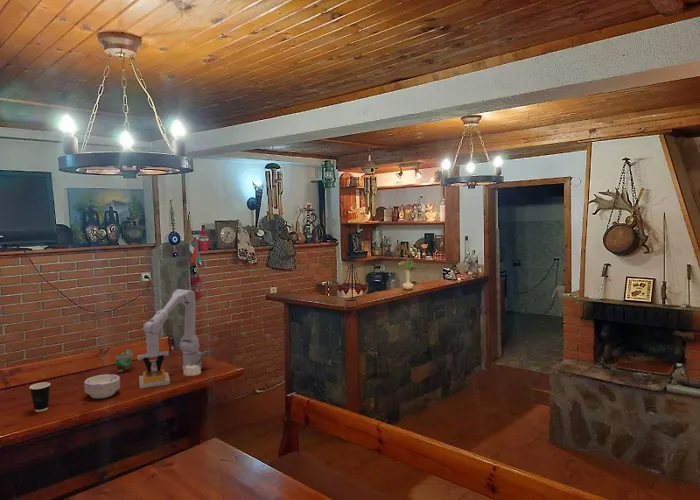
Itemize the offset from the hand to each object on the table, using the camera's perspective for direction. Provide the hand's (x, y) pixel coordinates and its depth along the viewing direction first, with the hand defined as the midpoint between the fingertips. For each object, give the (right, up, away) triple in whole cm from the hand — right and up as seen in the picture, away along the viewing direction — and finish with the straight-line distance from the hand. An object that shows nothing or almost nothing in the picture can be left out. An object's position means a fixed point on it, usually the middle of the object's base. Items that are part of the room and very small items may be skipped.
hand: (153, 371), depth 256 cm
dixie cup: (-36, -9, -33) cm, 50 cm away
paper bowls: (-18, -7, -17) cm, 25 cm away
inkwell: (+17, -4, +17) cm, 25 cm away
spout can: (+1, -3, -1) cm, 3 cm away
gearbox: (0, -5, 0) cm, 5 cm away
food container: (-22, -4, +20) cm, 31 cm away
